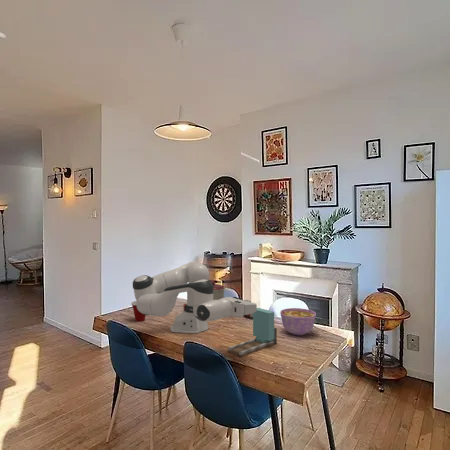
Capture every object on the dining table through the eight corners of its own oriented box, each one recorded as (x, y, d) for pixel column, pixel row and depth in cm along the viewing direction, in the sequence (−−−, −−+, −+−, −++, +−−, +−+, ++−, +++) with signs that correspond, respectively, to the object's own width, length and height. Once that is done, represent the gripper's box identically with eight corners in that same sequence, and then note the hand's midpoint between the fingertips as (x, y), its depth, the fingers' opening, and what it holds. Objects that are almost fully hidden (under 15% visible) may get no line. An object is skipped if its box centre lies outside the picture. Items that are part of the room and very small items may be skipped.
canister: (216, 306, 250) (216, 278, 249) (230, 311, 235) (230, 281, 234) (195, 309, 239) (194, 280, 239) (208, 315, 224) (208, 284, 224)
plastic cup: (128, 320, 215) (128, 301, 215) (143, 316, 222) (143, 298, 222) (136, 324, 207) (135, 304, 207) (151, 320, 214) (151, 301, 214)
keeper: (268, 345, 168) (268, 313, 168) (252, 339, 176) (252, 309, 176) (274, 342, 171) (274, 311, 171) (258, 337, 180) (258, 307, 179)
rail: (240, 357, 157) (240, 340, 157) (227, 351, 163) (227, 335, 163) (276, 343, 174) (276, 328, 174) (263, 339, 181) (263, 324, 181)
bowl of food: (290, 325, 205) (290, 306, 204) (321, 332, 192) (322, 311, 192) (273, 333, 189) (273, 313, 189) (306, 341, 176) (306, 320, 176)
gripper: (214, 309, 165) (234, 304, 174) (243, 318, 150) (264, 312, 159) (214, 296, 165) (234, 292, 174) (243, 304, 150) (264, 299, 159)
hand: (249, 301), depth 166 cm, fingers closed
